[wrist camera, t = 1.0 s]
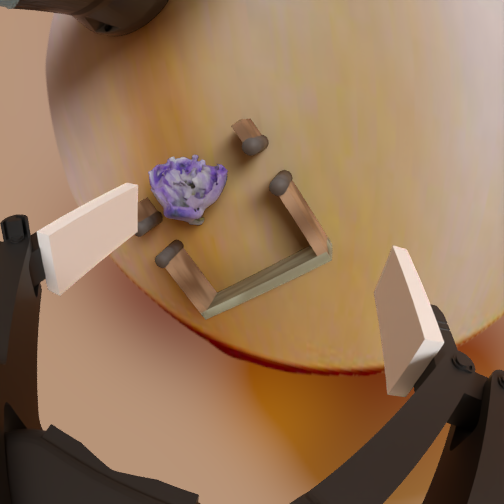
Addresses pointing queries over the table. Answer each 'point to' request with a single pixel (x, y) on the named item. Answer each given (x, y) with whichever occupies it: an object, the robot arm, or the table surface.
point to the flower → (187, 187)
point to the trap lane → (262, 281)
